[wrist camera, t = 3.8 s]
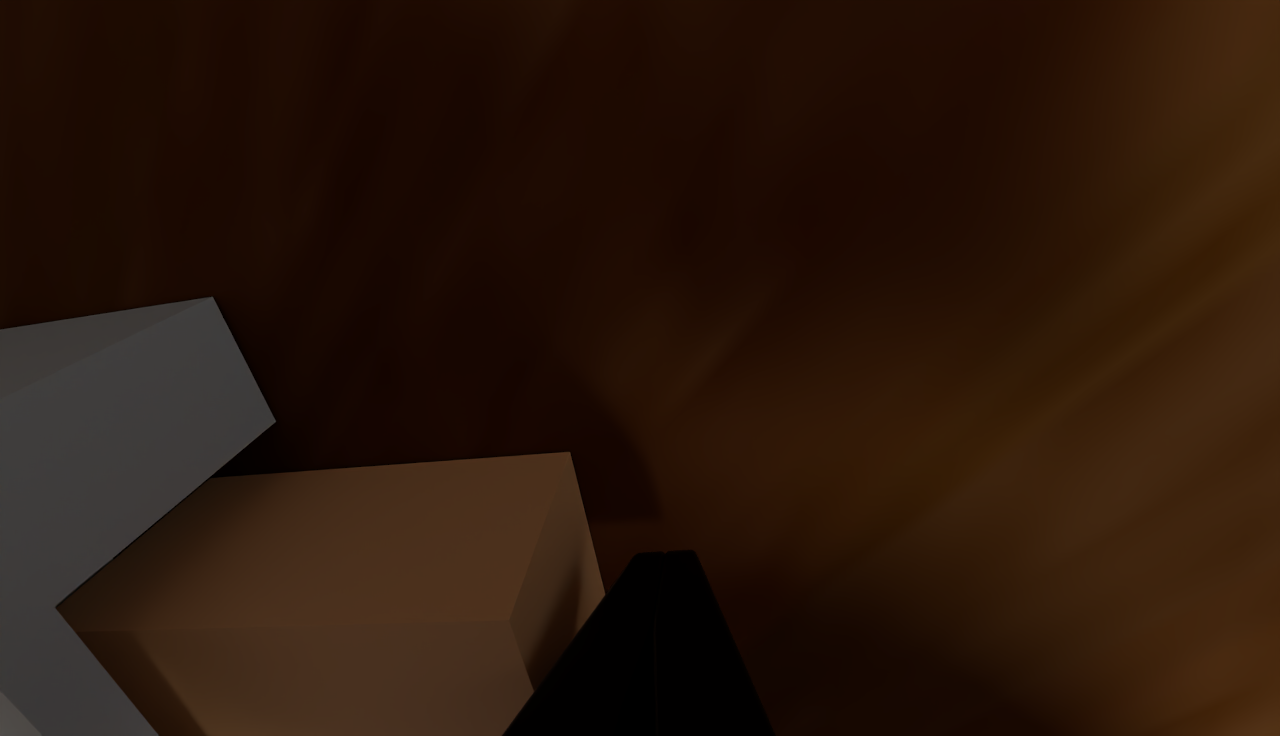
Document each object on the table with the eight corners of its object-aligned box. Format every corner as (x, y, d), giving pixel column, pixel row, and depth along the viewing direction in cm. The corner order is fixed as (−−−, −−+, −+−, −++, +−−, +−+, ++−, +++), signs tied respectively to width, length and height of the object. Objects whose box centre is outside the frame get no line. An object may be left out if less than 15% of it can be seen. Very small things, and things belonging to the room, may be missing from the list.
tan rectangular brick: (607, 601, 10) (569, 794, 8) (286, 612, 11) (152, 785, 9) (569, 451, 9) (509, 621, 6) (210, 478, 10) (27, 632, 7)
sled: (428, 720, 12) (302, 1013, 8) (133, 724, 13) (-88, 981, 10) (212, 296, 8) (-189, 489, 5) (-173, 356, 10) (-734, 547, 6)
